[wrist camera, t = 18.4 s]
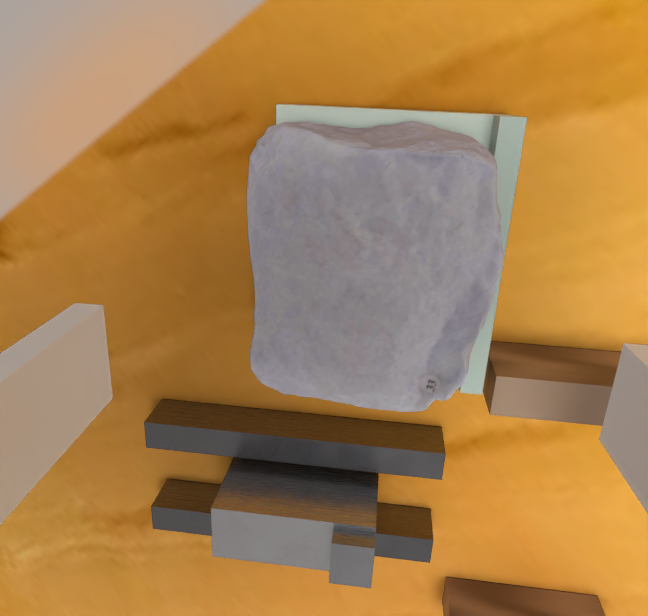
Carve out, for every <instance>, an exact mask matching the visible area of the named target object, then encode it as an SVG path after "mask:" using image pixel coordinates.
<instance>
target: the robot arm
mask: <svg viewBox="0 0 648 616" xmlns="http://www.w3.org/2000/svg"><path fill="white" fill-rule="evenodd" d="M112 399H113V396H112V386H111V376H110V366H109V356H108V346H107V336H106V326H105V316H104V306H103V305H95V304H81V303H74V304H73V305H71V306H70V307H68V308H67V309H65V310H64V311H62V312H61V313H59V314H58V315H56V316H55V317H53V318H52V319H50V320H49V321H48V322H46V323H45V324H43V325H42V326H40V327H39V328H37V329H36V330H34V331H33V332H31V333H30V334H28V335H27V336H25V337H24V338H22V339H21V340H19V341H18V342H16V343H15V344H13V345H12V346H10V347H9V348H7V349H6V350H4V351H3V352H1V353H0V525H1V524H2V523H3V522H4V521H5V519H6V518H7V517H8V516H9V515H10V514H11V513H12V512H13V510H14V509H15V508H16V507H17V506H18V505H19V504H20V503H21V501H22V500H23V499H24V498H25V497H26V496H27V495H28V493H29V492H30V491H31V490H32V489H33V488H34V487H35V486H36V484H37V483H38V482H39V481H40V480H41V479H42V478H43V477H44V475H45V474H46V473H47V472H48V471H49V470H50V469H51V467H52V466H53V465H54V464H55V463H56V462H57V461H58V460H59V458H60V457H61V456H62V455H63V454H64V453H65V452H66V451H67V449H68V448H69V447H70V446H71V445H72V444H73V443H74V442H75V440H76V439H77V438H78V437H79V436H80V435H81V434H82V432H83V431H84V430H85V429H86V428H87V427H88V426H89V425H90V423H91V422H92V421H93V420H94V419H95V418H96V417H97V416H98V414H99V413H100V412H101V411H102V410H103V409H104V408H105V406H106V405H107V404H108V403H109V402H110V401H111V400H112ZM599 440H600V442H601V443H602V445H603V446H604V448H605V449H606V451H607V452H608V454H609V455H610V457H611V458H612V460H613V461H614V463H615V464H616V466H617V467H618V469H619V471H620V472H621V474H622V475H623V477H624V478H625V480H626V481H627V483H628V484H629V486H630V487H631V489H632V490H633V492H634V493H635V495H636V496H637V498H638V500H639V501H640V503H641V504H642V506H643V507H644V509H645V510H646V512H647V513H648V345H639V344H626V343H623V347H622V351H621V355H620V359H619V363H618V367H617V371H616V375H615V379H614V383H613V387H612V391H611V395H610V399H609V403H608V407H607V411H606V415H605V419H604V423H603V427H602V430H601V434H600V438H599Z"/></svg>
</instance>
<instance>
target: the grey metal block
mask: <svg viewBox="0 0 648 616" xmlns="http://www.w3.org/2000/svg"><path fill="white" fill-rule="evenodd" d="M377 493H378V473H376V472H366V471H357V470H348V469H339V468H330V467H321V466H312V465H302V464H293V463H284V462H275V461H266V460H257V459H248V458H238V457H234V458H233V460H232V462H231V465H230V467H229V469H228V471H227V474H226V476H225V478H224V480H223V482H222V485H221V487H220V489H219V491H218V494H217V496H216V498H215V500H214V503H213V505H212V507H211V523H212V551H213V556H215V557H223V558H231V559H239V560H247V561H254V562H262V563H270V564H278V565H286V566H294V567H302V568H310V569H318V570H325V571H330V574H329V583H334V584H342V585H349V586H357V587H365V588H371V583H372V573H373V562H374V552H375V533H376V516H377Z"/></svg>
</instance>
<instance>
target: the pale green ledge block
mask: <svg viewBox="0 0 648 616" xmlns="http://www.w3.org/2000/svg"><path fill="white" fill-rule="evenodd" d="M409 121H416V122H419V123H423V124H428V125H432V126H434V127H436V128H439V129H443V130H446V131H449V132H454V133H461V134H464V135H466V136H469V137H473V138H474V139H475V140H477V141H478V142H480V143H481V144H482V145H483V146H484V147H486V148H487V149H488V150H489V151H490V153H491V154H493V155H494V158H495V160H496V162H497V170H498V177H497V183H496V184H497V203H498V207H499V210H500V213H501V221H500V227H501V240H502V245H503V251H504V257H505V251H506V244H507V238H508V232H509V226H510V220H511V214H512V208H513V202H514V195H515V189H516V183H517V177H518V171H519V165H520V159H521V153H522V146H523V140H524V134H525V128H526V122H527V117H521V116H514V115H508V114H488V113H467V112H446V111H425V110H404V109H384V108H363V107H342V106H321V105H300V104H276V125H278V124H281V123H283V122H310V123H312V124H322V125H329V126H341V127H346V128H371V127H375V126H378V125H394V124H399V123H403V122H409ZM503 263H504V258H503ZM502 269H503V264H502V268H501V272H500V276H499V279H498V281H497V284H496V291H495V294H494V297H493V301H492V304H491V307H490V309H489V312H488V315H487V317H486V322H485V324H484V326H483V328H482V330H481V331H480V333H479V335H478V338H477V339H476V341H475V344H474V346H473V349H472V351H471V354H470V357H469V369H468V373H467V376H466V379H465V381H464V384H463V385H462V386H461V387H460V388H459V391H460V393H470V394H481V395H482V392H483V386H484V379H485V373H486V367H487V361H488V355H489V349H490V343H491V336H492V330H493V324H494V318H495V312H496V306H497V300H498V294H499V287H500V281H501V275H502Z"/></svg>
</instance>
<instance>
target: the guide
mask: <svg viewBox="0 0 648 616" xmlns="http://www.w3.org/2000/svg"><path fill="white" fill-rule="evenodd" d="M144 425H145V437H146V447H147V448H156V449H165V450H174V451H183V452H193V453H202V454H211V455H220V456H229V457H238V458H248V459H257V460H266V461H275V462H284V463H293V464H302V465H312V466H321V467H330V468H339V469H348V470H357V471H366V472H376V473H385V474H394V475H403V476H412V477H421V478H430V479H440V480H442V475H443V468H444V461H445V447H444V440H443V433H442V427H435V426H425V425H415V424H405V423H395V422H385V421H375V420H365V419H355V418H345V417H336V416H326V415H316V414H306V413H296V412H286V411H276V410H266V409H256V408H246V407H236V406H226V405H216V404H206V403H196V402H186V401H176V400H167V399H162V400H161V401H160V403H159V404H158V405H157V406H156V408H155V409H154V410H153V412H152V413H151V414H150V416H149V417H148V418H147V419H146V421H145V422H144ZM220 487H221V485H217V484H208V483H200V482H191V481H182V480H174V479H167V481H166V482H165V484H164V486H163V487H162V489H161V491H160V492H159V494H158V496H157V497H156V499H155V501H154V503H153V504H152V506H151V510H152V522H153V529H161V530H169V531H177V532H185V533H193V534H201V535H210V536H212V523H211V507H212V505H213V503H214V500H215V498H216V496H217V494H218V491H219V489H220ZM432 545H433V532H432V521H431V509H427V508H418V507H410V506H401V505H392V504H383V503H377V516H376V533H375V552H374V556H380V557H388V558H396V559H404V560H412V561H420V562H428V563H430V559H431V552H432Z"/></svg>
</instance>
